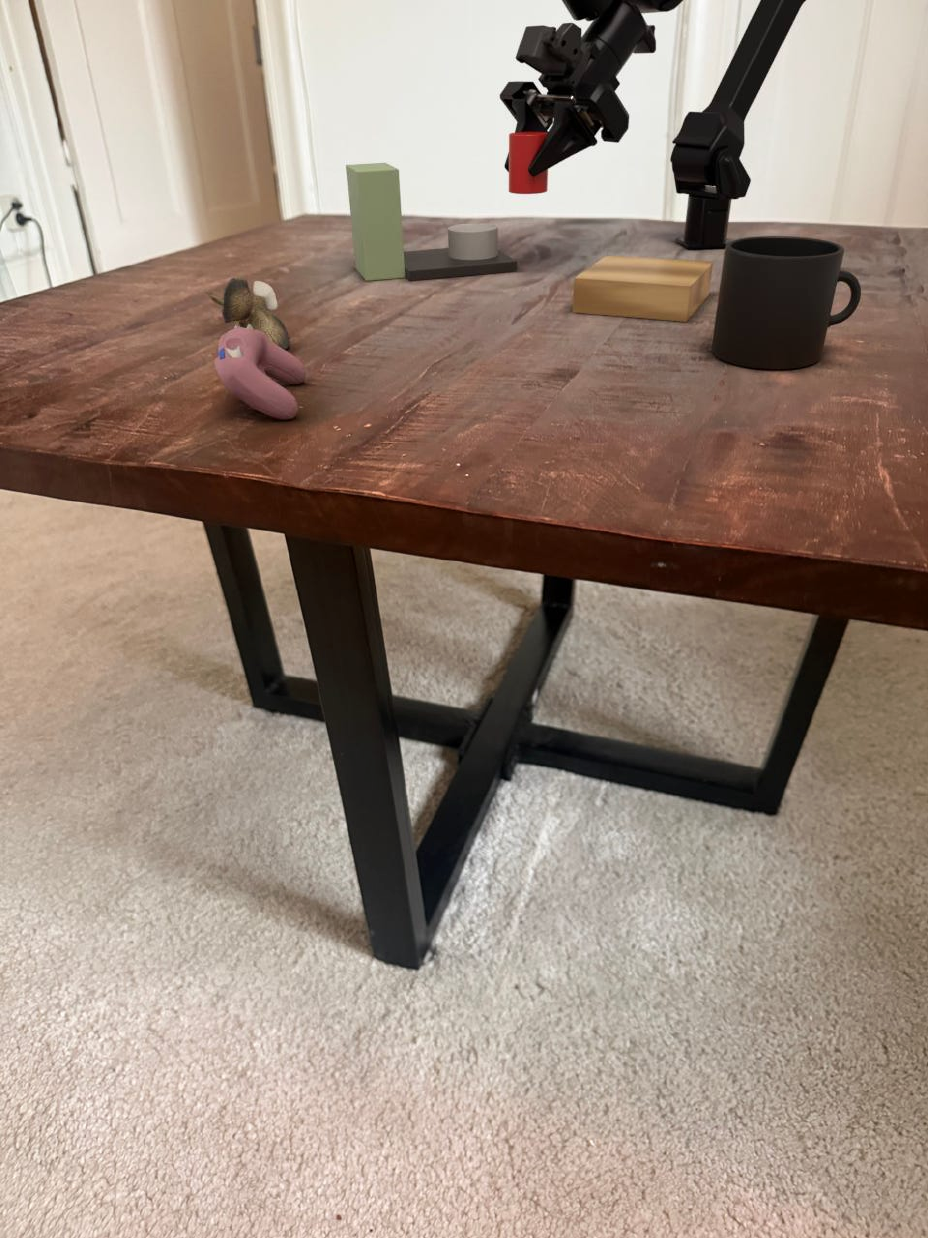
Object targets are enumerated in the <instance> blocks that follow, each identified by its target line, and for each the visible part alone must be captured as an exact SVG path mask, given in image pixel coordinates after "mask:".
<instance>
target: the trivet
mask: <svg viewBox="0 0 928 1238" xmlns="http://www.w3.org/2000/svg"><path fill="white" fill-rule="evenodd" d="M713 267H714V261H712V260H711V261H709V260H693V259H692V260H691V259H677V258H676V259H674V258H673V259H672V258H659V257H658V258H657V257H640V256H623V255H608V254H607V255H605V256H604V257H602V258H601V259H599V260H598V261H597V262H595V263H594V264H592V265H591V266H589V267H588V268H586V269H585V270H584V271H582V272H581V273H579V274H578V275H577V276H575V277H574V281H573V300H572V301H573V303H572V313H573V314H583V315H584V314H585V315H597V316H609V317H620V318H631V319H646V320H656V321H657V320H658V321H667V322H668V321H670V322H679V323H680V322H681V323H683V322H684V323H688V321H689V320H690V319H691V317H692V316H693V315H694V314H695V312H696V311H697V310H698V309H699V308H700V306H701V305H702V304H703V303H704V301H705V300H706V299H707V298H708V297H709V295H710V290H711V282H712V273H713Z"/></svg>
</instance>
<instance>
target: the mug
mask: <svg viewBox="0 0 928 1238" xmlns="http://www.w3.org/2000/svg"><path fill="white" fill-rule="evenodd" d="M730 241H731V242H729V243H727V245H726V247H724V253H723V255H724V256H723V262H722V270H721V277H720V284H719V290H718V298H717V306H716V312H715V319H714V326H713V333H712V341H711V349H712V350H711V351H712V354H713V355H714V356H715V357H717V358H718V359H720V360H722V361H725V362H727V363H730V364H733V365H737V366H739V367H740V366H741V367H745V368H751V369H759V370H760V369H761V370H790V369H798V368H804V367H809V366H810V365H813V364H815V363H817V362H818V361H819V360H820V358H821V357H822V355H823V351H824V347H825V342H826V337H827V333H828V328H830V327H831V326H836V325H839V324H842V323H843V322H845V321H847V320H849V318H850V317H852V315H853V314H854V312H855V311H856V310H857V309H858V307H859V303H860V301H861V298H862V287H861V285H860V282H859V280H858V278H857V277H856V276H855V275H854V274H853V273H852V272H850V271H848V270H844V269H843V270H842V269H841V268H842V263H843V258H844V254H845V248H844V247H843V246H842V245H840V244H838V243H837V242H833V241H829V240H825V239H820V238H813V237H805V236H792V235H790V236H789V235H761V236H760V235H759V236H748V237H742V238H738V239H734V240H730ZM840 282H842V283H844V284H846V285H847V287H848V288H849V291H850V298H849V301H848V303H847V305H846V306H845V307H844V309H842V310H841V311H840V312H838V313H835V314H833V315H832V310H833V305H834V300H835V296H836V291H837V286H838V283H840Z"/></svg>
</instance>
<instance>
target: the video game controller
mask: <svg viewBox="0 0 928 1238" xmlns="http://www.w3.org/2000/svg"><path fill="white" fill-rule="evenodd" d="M217 351H218V353H217V355H218V356H217V357H216V358H215V359H214V368H215V371H216V374H217V375H218V378H219V380H220V381H221V383H222V384H223V386H224V387H225V388H226V390H227V391H228V393H230V394H231V395H232V396H233V397H234V398H235V399H237V400H239V401H242V402H244V403H245V404H247V406H249V408H250V409H252V410H253V411H258V412H260V413H262V414H264V415H266V416H269V417H271V418H275V419H278V420H291V419H294V418H295V416H296V415H297V414H298V411H299V405H298V402H297V401H298V400H297V399H296V397H294V396H293V395H292V393H291V392H290V391H289V390H288V389H287V388H285V387H284V386H282V385H281V384H279V383H278V382H280V383H285V384H288V385H289V384H290V385H299V384H301V383H302V382H304V380H305V379H306V375H307V373H306V368H305V367H304V364H302V362H301V361H300V360H299V359H298V358H297V357H296V356H295V355H293V354H292V353H290V352H289V351H287V350H286V349H285V348H284V349H282V348H280V347H279V346H277V345H276V344H275V343H273V342H272V341H271V340H269V339H268V338H267V337H266V336H265V335H264V334H263V333H262V332H260V331H259V330H254V329H253V327H252V325H250V324H249V325H248V326H247V328H244V327H237V328H234V327H233V328H232V329H230V330H229V331H227V332H225V333H223V334H222V335H221V337H220V338H219V340H218V344H217ZM274 380H275V381H274ZM276 381H278V382H276Z"/></svg>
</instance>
